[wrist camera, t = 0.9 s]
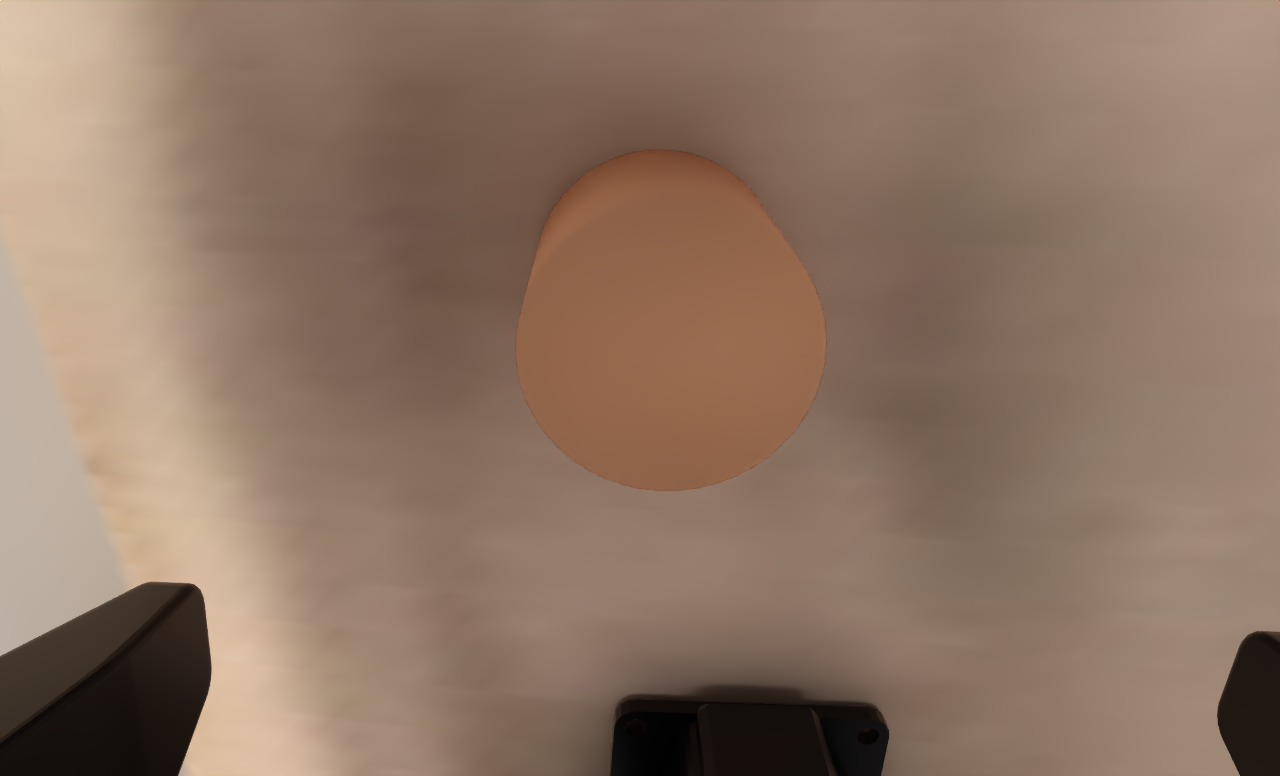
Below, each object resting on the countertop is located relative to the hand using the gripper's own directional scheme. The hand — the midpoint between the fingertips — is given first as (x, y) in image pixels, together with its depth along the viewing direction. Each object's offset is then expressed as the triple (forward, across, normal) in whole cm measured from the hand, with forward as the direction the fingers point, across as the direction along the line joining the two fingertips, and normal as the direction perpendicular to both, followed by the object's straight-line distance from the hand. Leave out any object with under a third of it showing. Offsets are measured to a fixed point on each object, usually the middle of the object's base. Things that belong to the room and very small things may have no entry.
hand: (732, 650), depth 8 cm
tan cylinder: (+12, 0, 0) cm, 12 cm away
